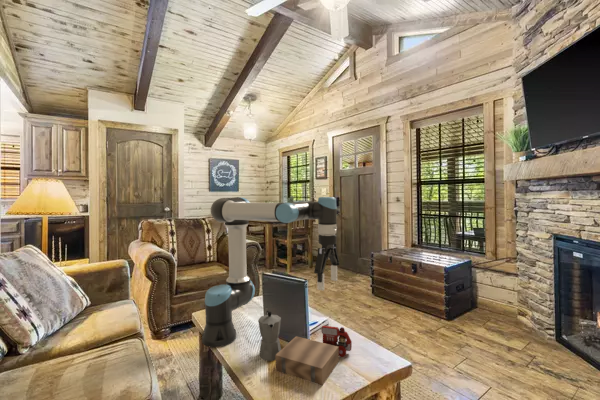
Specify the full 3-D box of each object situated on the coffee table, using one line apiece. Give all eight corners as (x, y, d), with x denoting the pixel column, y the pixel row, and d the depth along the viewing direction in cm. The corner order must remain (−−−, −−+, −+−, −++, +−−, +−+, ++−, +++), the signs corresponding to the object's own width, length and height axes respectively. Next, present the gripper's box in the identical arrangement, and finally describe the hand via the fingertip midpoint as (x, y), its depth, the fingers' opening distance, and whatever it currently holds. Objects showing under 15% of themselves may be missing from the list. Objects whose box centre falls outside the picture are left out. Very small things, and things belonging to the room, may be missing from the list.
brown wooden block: (275, 370, 110) (275, 355, 110) (296, 350, 124) (296, 336, 124) (322, 385, 101) (321, 368, 101) (338, 361, 116) (338, 346, 115)
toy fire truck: (350, 358, 118) (350, 332, 117) (320, 354, 121) (319, 329, 121) (352, 349, 124) (352, 325, 124) (323, 345, 128) (323, 322, 127)
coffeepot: (284, 362, 116) (283, 317, 115) (260, 365, 114) (259, 319, 113) (278, 342, 131) (278, 302, 130) (257, 345, 129) (256, 304, 128)
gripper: (323, 239, 109) (323, 295, 110) (346, 230, 131) (346, 278, 132) (305, 238, 113) (305, 292, 114) (331, 229, 135) (331, 275, 136)
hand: (327, 284), depth 123 cm, fingers open, 13 cm apart
